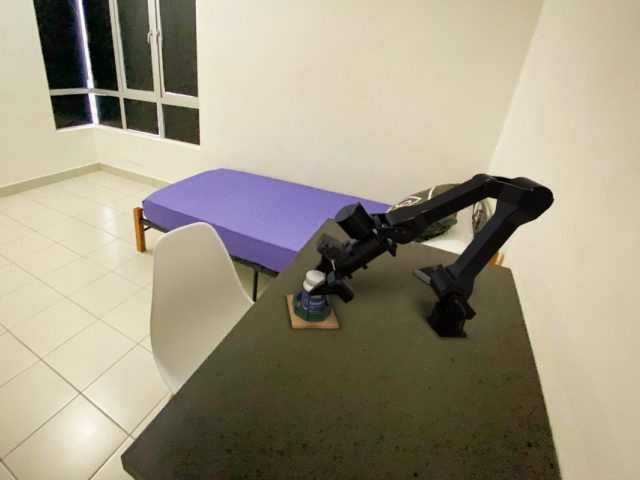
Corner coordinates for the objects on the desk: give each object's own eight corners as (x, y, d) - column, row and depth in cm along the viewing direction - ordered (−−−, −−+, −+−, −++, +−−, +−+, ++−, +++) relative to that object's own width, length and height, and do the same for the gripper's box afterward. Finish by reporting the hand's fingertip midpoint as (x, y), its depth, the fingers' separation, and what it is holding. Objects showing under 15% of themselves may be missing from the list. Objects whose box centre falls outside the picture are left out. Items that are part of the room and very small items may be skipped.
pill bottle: (310, 320, 79) (314, 285, 76) (295, 305, 84) (299, 272, 80) (328, 312, 82) (333, 278, 78) (313, 298, 86) (317, 266, 83)
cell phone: (456, 278, 100) (457, 274, 99) (429, 285, 96) (430, 281, 95) (438, 267, 105) (439, 263, 105) (412, 274, 101) (413, 270, 101)
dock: (327, 298, 89) (328, 287, 87) (338, 328, 78) (340, 316, 77) (286, 297, 88) (287, 286, 87) (292, 328, 78) (293, 316, 77)
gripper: (335, 209, 83) (288, 244, 88) (345, 247, 65) (285, 288, 70) (362, 240, 85) (315, 272, 90) (380, 285, 68) (319, 322, 73)
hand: (308, 286), depth 81 cm, fingers closed on pill bottle, 6 cm apart
